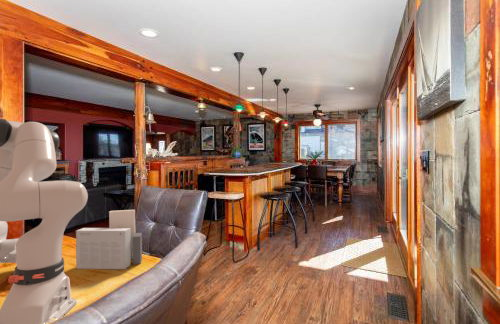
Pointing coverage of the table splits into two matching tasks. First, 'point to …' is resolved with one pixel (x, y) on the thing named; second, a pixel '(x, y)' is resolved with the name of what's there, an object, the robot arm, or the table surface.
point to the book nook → (128, 221)
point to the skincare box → (103, 248)
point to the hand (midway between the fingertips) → (55, 247)
